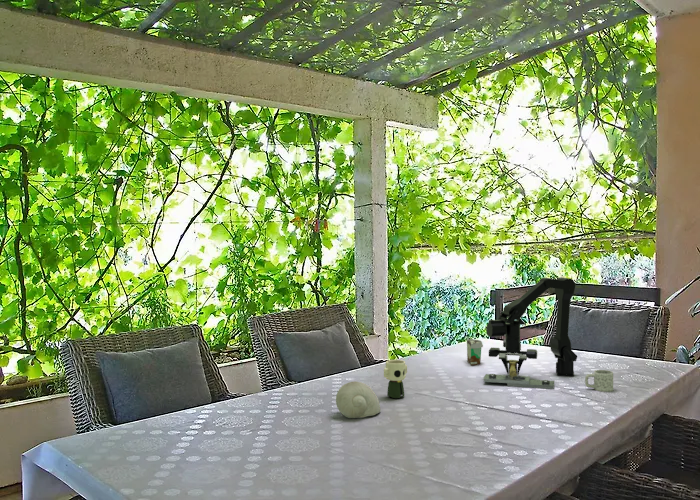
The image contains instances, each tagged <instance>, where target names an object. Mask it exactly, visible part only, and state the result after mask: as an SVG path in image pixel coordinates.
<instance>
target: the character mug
mask: <svg viewBox="0 0 700 500" xmlns="http://www.w3.org/2000/svg"><path fill="white" fill-rule="evenodd" d="M407 373H408V365H407V364H406V361H404V360H403V359H402V360H401V359H389V360H386V361H385V368H383V378H386V379H387V380H388V381H389V382H388V384H387V392H386V393H387V396H388V397H390V398H392V399H400V398H401V396H402V398H404V397H405V389H404V383H403V381H405V379H406V375H407Z"/></svg>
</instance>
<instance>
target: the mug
mask: <svg viewBox="0 0 700 500" xmlns="http://www.w3.org/2000/svg"><path fill="white" fill-rule="evenodd" d="M589 378H593V384H589ZM584 381H585V386H586V387H587V388H590V389H591V388H592V389H593V390H595V391H597V392H604V393H611V392H613V391H614V371H612V370H606V369H597V370H594V372H593V373H589V374H586V375H585V378H584Z"/></svg>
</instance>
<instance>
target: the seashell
mask: <svg viewBox="0 0 700 500" xmlns="http://www.w3.org/2000/svg"><path fill="white" fill-rule="evenodd" d="M335 404H336V408H337V410H338V411H339V412H340V414H342V415H343V416H344V417H346V418H349V419H359V418H366V417H371V416H375V415H377V414H379V413H381V406H380V405H381V404H380V402H379V398H378V396H377V395H376V393H375V392H374V390H373V389H372V388H371V387H370V386H369V385H367V384H366V383H364V382H361V381H355V380H354V381H349V382H347V383H344V384H343V385H342V386H341V387H339V389H338V390H337V393H336V397H335Z"/></svg>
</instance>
